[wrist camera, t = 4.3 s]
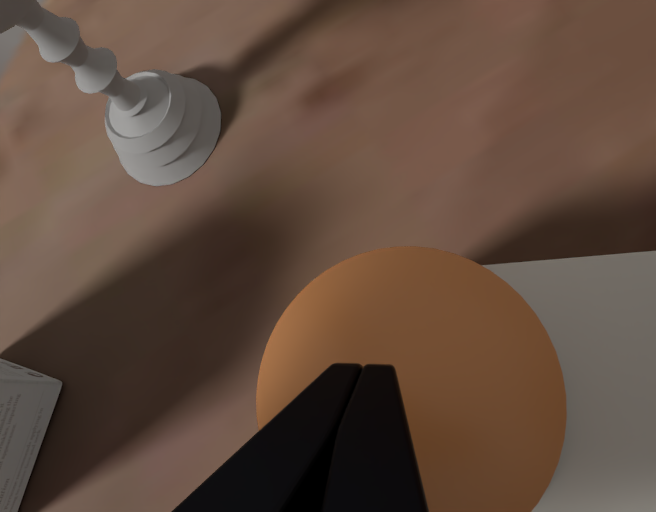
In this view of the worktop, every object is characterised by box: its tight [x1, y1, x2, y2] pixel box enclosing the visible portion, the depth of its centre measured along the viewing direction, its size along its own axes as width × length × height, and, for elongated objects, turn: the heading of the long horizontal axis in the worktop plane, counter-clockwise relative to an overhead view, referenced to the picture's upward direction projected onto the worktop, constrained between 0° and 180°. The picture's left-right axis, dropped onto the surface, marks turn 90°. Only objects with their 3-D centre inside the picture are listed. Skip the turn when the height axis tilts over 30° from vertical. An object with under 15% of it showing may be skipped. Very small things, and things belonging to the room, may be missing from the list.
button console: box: [312, 251, 656, 512], centre depth 15 cm, size 15×6×7 cm, turn 91°
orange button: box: [256, 246, 567, 512], centre depth 12 cm, size 5×5×3 cm
